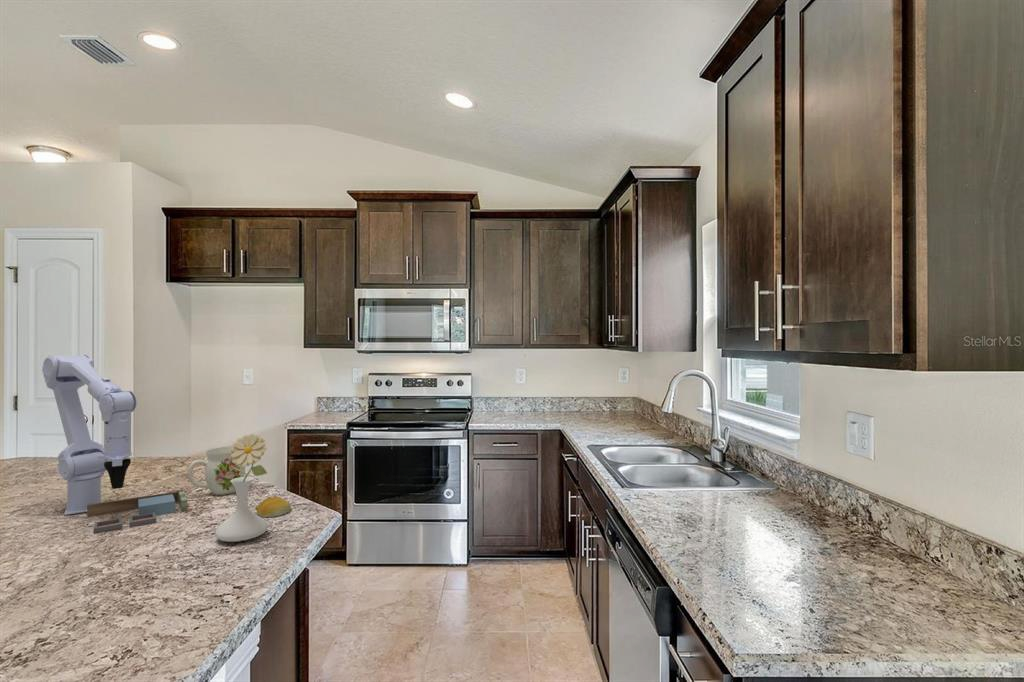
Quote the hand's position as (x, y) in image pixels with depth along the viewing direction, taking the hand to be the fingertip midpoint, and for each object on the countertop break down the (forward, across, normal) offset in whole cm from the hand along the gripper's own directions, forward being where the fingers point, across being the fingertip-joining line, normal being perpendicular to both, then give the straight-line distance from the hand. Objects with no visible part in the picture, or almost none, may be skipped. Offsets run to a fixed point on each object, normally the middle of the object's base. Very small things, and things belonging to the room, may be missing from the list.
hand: (117, 487), depth 136 cm
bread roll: (+8, +21, +34) cm, 41 cm away
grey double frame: (+8, +9, +2) cm, 12 cm away
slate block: (+8, +1, +9) cm, 12 cm away
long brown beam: (+8, 0, +4) cm, 9 cm away
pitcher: (+8, -8, +26) cm, 28 cm away
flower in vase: (+8, +37, +25) cm, 45 cm away
